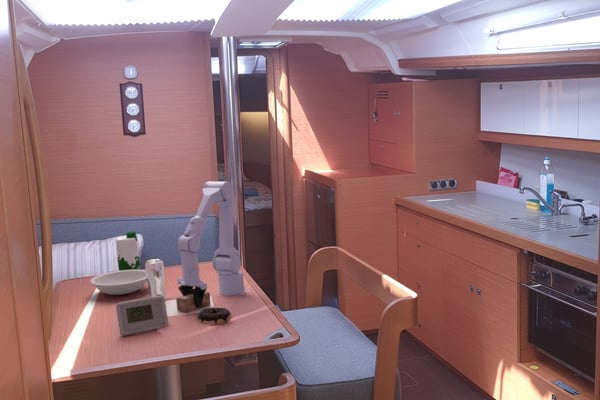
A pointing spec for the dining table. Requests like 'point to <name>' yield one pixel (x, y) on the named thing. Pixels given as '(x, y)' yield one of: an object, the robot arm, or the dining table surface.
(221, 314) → the donut
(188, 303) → the brown rectangular box
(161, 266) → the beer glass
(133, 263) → the milk carton
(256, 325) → the dining table surface
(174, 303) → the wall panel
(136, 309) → the digital clock
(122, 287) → the soup bowl
